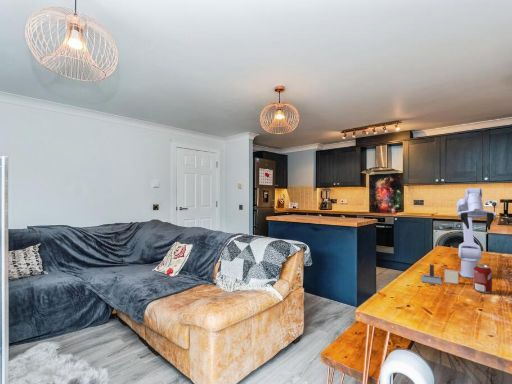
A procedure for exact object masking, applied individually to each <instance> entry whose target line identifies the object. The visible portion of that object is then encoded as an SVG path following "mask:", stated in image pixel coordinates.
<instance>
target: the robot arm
mask: <svg viewBox="0 0 512 384" xmlns="http://www.w3.org/2000/svg"><path fill="white" fill-rule="evenodd" d="M464 193H465V194H464V196H463V198H460V199H458V200H457V201H456V214H457V218H460V220H461V223H462V230H463V231H462V232H463V242H462V243H459V244H458V251H457V252H458V258H459V259H461V262H460V271H459V270H458V271H459V275H460V276H461V277H462V278H463V277H464V278H471V279H473V274H474V267H475V265H479V261H481V260H482V258H483V256H482V250H481V246H480V245H479V244H477V243H475V239H474V228H473V219H481V218H486V224H487V231H488V230H489V231H490V230H491V225H492V223H493V222H494V219H496V218H497V216H498V215H497V211H489V210H485V209H484V206H483V205H484V204H483V199H482V197H483V189H482V188H481V187H467V188H465V191H464Z"/></svg>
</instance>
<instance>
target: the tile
mask: <svg viewBox="0 0 512 384" xmlns="http://www.w3.org/2000/svg"><path fill="white" fill-rule="evenodd" d="M459 277H460V273H459V270H455V269H454V270H453V269H445V268H444V269H443V282H444V283H445V284H455V285H460V278H459Z"/></svg>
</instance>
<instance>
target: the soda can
mask: <svg viewBox="0 0 512 384" xmlns="http://www.w3.org/2000/svg"><path fill="white" fill-rule="evenodd" d="M472 279H473V287H472V288H473V290H475V291H476V292H477V293H481V294H489V293H492V292H493V271H492V269H491V266H489V265H486V264H478V265H475V267H474V274H473V278H472Z"/></svg>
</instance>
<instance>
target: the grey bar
mask: <svg viewBox="0 0 512 384" xmlns="http://www.w3.org/2000/svg"><path fill="white" fill-rule="evenodd" d="M422 277H430V278H437V279H440V280H442V277H441V275H436V274H435V265H434V264H429V274H428V273H422Z"/></svg>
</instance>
